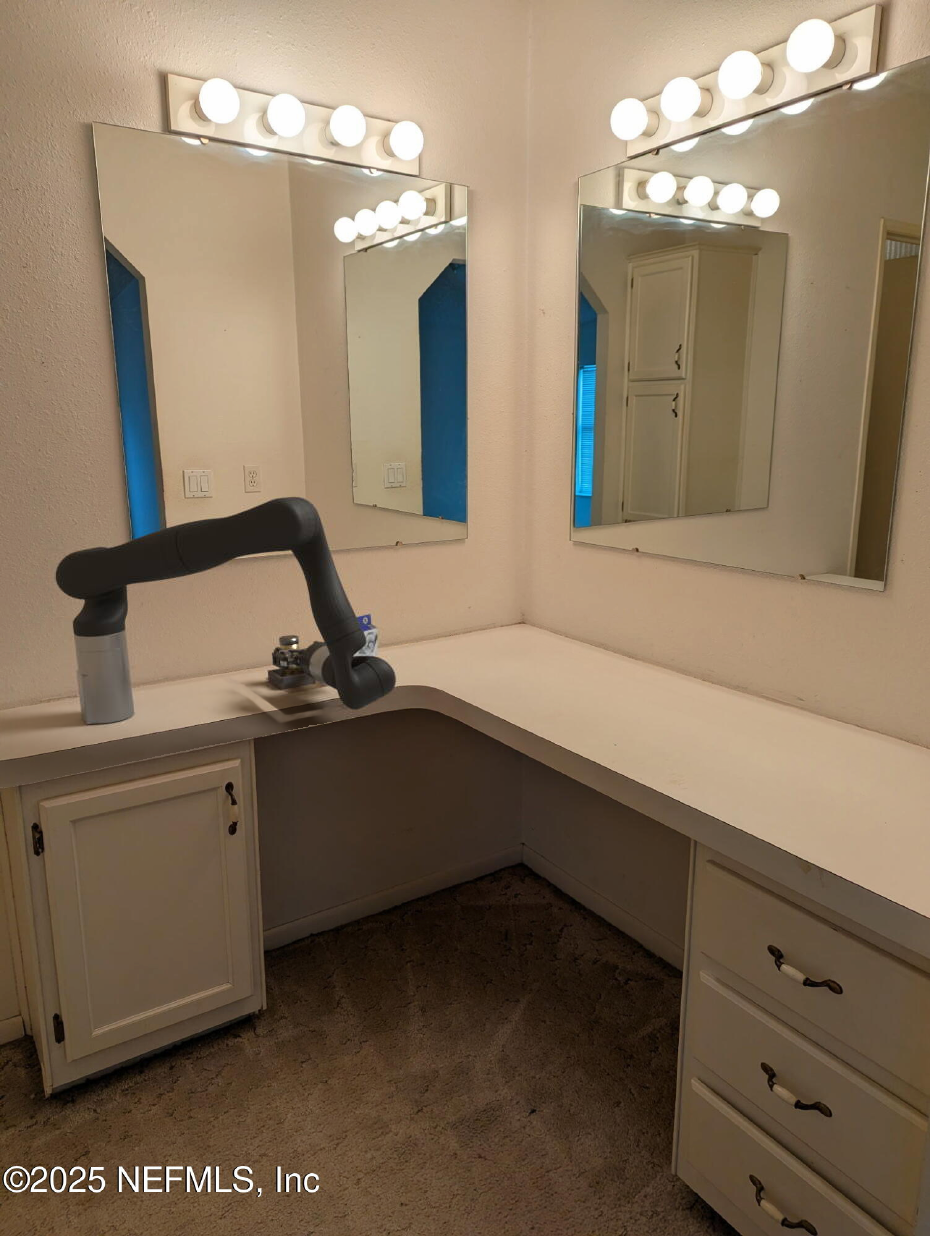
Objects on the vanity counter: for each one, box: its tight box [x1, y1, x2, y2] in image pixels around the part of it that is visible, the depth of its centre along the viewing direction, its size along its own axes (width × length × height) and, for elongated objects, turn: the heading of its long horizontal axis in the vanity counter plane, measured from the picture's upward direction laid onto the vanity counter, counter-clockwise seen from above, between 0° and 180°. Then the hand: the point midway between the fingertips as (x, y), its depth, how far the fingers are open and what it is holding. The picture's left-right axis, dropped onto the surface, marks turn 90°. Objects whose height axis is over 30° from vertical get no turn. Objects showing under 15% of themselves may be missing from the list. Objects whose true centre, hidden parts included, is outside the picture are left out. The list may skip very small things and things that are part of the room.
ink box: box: [354, 613, 378, 657], centre depth 200 cm, size 12×2×12 cm, turn 143°
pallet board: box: [265, 667, 328, 694], centre depth 185 cm, size 19×14×4 cm
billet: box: [278, 634, 301, 677], centre depth 181 cm, size 4×4×10 cm
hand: (296, 648), depth 178 cm, fingers open, 8 cm apart
